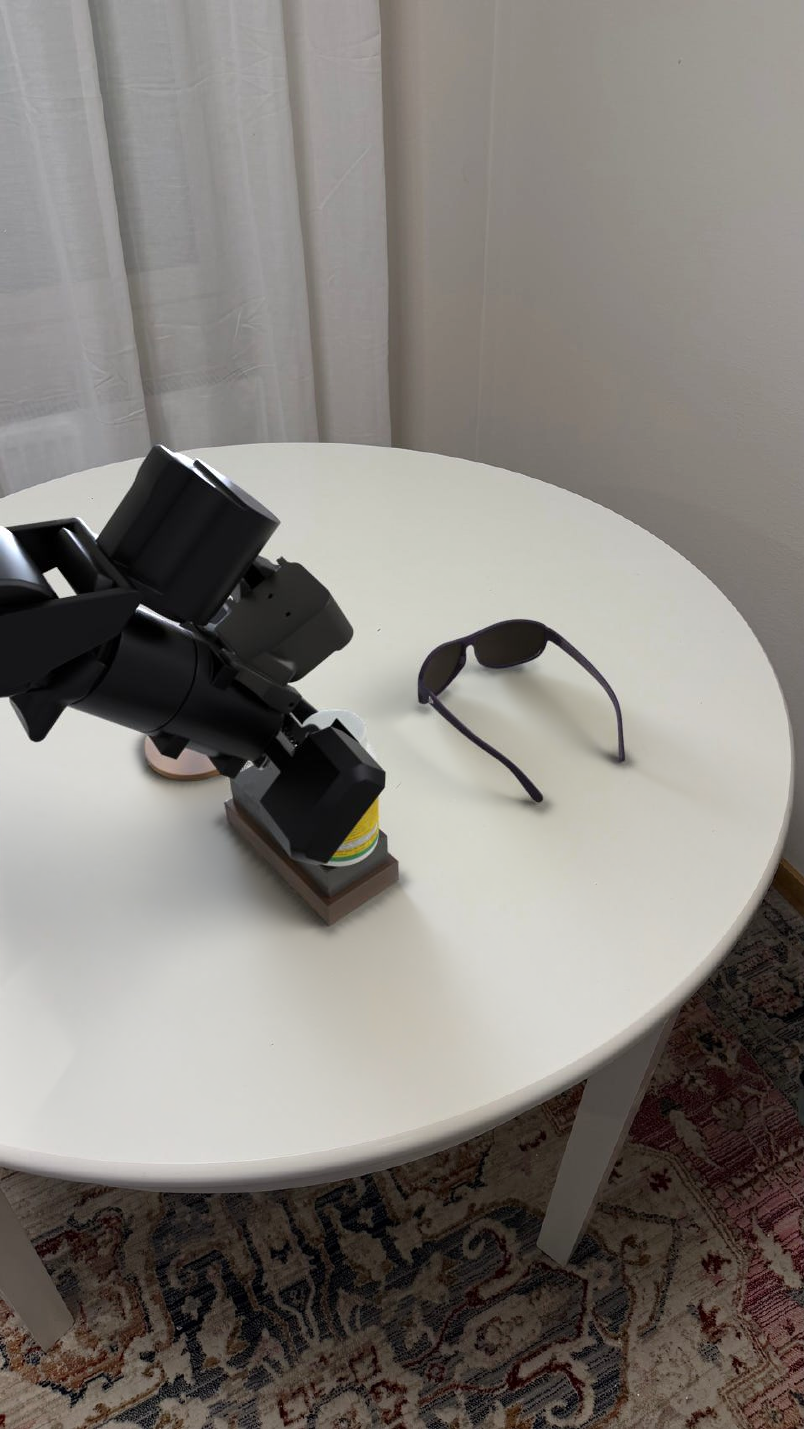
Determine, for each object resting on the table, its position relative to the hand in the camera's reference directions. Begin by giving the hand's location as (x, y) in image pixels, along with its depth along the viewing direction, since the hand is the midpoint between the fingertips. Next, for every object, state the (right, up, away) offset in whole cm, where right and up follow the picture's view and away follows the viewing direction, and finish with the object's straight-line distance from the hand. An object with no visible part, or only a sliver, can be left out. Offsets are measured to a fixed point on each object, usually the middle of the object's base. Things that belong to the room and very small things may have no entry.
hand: (353, 758), depth 63 cm
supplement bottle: (-1, -6, +4) cm, 7 cm away
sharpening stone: (-3, -7, +9) cm, 12 cm away
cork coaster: (-13, 0, +18) cm, 22 cm away
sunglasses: (+13, +2, +19) cm, 23 cm away
